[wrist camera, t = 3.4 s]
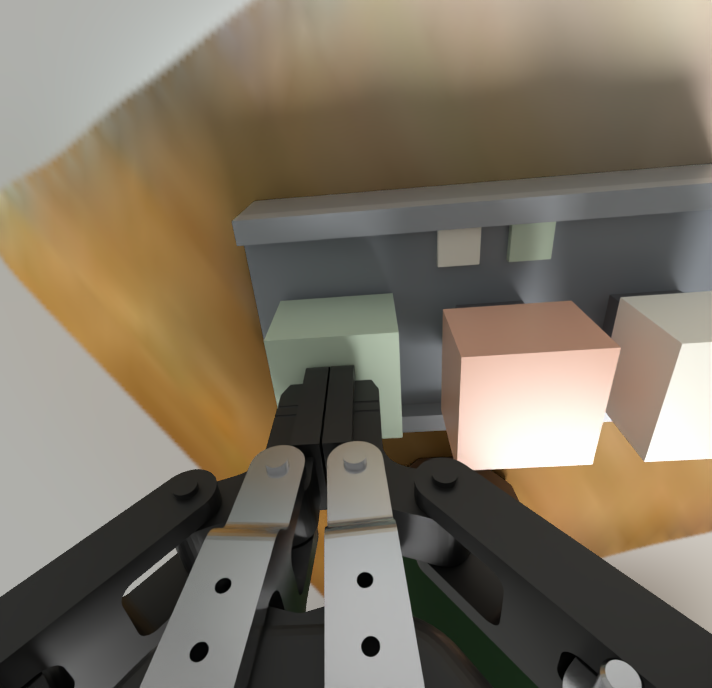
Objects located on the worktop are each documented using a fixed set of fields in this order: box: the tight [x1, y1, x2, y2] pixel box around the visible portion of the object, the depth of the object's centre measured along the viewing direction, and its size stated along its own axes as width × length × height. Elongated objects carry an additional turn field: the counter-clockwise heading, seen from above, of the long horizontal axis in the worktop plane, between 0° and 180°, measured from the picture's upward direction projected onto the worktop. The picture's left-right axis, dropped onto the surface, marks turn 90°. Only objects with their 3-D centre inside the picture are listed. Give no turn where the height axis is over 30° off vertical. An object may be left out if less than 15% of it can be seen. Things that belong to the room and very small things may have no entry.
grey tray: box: [232, 163, 712, 433], centre depth 16 cm, size 17×9×5 cm, turn 95°
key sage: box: [264, 293, 403, 439], centre depth 15 cm, size 4×4×3 cm
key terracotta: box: [441, 301, 621, 470], centre depth 13 cm, size 4×4×3 cm
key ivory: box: [605, 291, 712, 462], centre depth 13 cm, size 4×4×3 cm
